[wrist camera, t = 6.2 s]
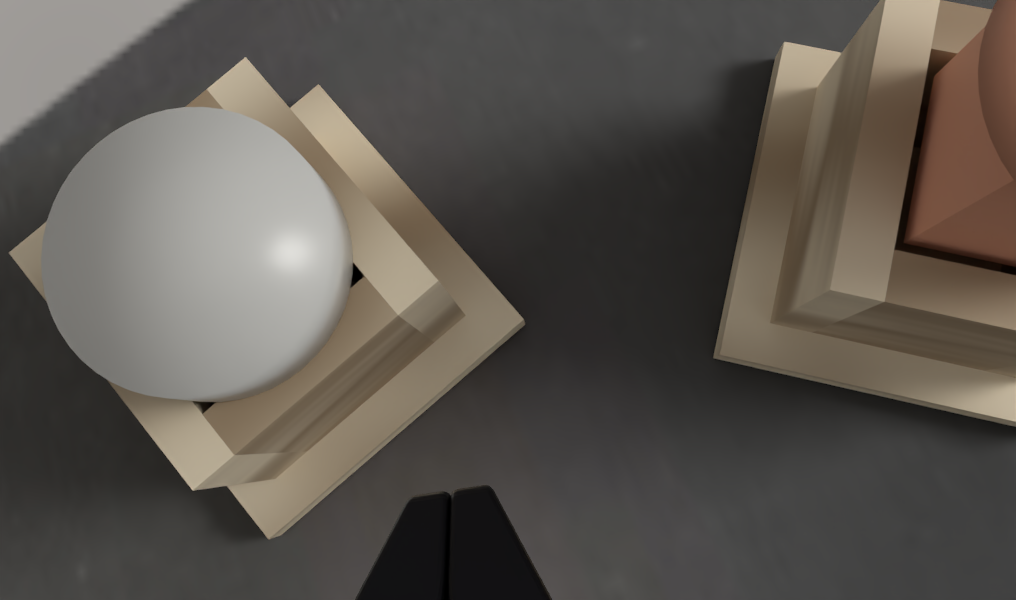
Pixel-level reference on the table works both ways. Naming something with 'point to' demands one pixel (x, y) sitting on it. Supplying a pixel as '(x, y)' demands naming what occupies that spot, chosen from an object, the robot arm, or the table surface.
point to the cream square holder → (865, 230)
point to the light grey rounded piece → (196, 257)
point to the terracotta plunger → (971, 150)
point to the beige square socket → (355, 341)
